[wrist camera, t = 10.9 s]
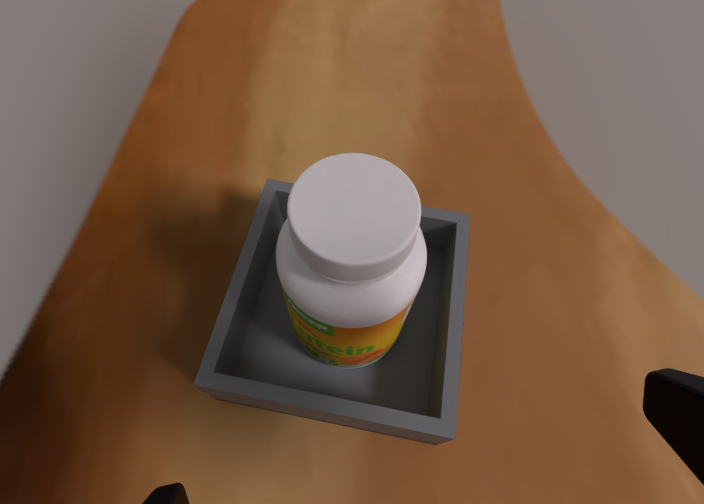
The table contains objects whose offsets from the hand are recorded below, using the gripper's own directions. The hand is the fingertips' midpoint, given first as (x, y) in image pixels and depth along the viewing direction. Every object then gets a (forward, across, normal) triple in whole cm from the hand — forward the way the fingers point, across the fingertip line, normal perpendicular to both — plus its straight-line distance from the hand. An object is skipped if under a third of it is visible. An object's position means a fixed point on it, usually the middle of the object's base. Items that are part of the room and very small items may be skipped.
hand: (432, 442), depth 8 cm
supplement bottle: (+13, 0, +3) cm, 13 cm away
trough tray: (+13, 0, +4) cm, 14 cm away
